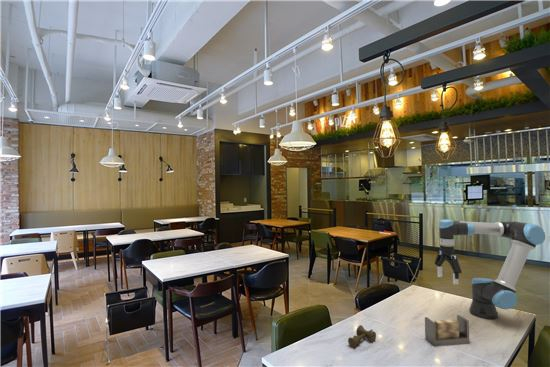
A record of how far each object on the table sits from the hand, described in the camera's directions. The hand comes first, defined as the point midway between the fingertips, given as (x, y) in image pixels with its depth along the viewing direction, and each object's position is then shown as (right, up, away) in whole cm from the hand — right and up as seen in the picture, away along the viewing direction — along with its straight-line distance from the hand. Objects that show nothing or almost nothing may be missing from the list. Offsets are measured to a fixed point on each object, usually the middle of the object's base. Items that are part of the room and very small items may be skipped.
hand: (447, 280), depth 174 cm
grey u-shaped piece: (-12, -27, -19) cm, 35 cm away
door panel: (-12, -26, -19) cm, 34 cm away
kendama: (-57, -28, -17) cm, 66 cm away
